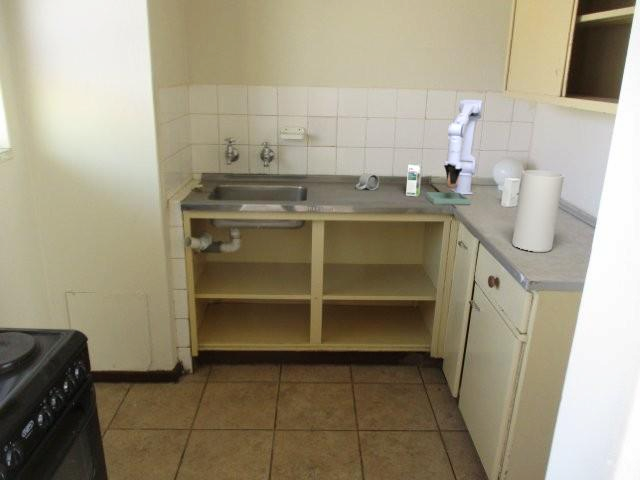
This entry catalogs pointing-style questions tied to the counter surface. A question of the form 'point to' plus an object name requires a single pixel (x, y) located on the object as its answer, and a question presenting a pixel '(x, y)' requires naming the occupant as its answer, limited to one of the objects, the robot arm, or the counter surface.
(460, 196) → the tray
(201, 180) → the counter surface
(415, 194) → the syrup box
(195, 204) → the counter surface
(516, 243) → the cylinder vase
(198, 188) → the counter surface
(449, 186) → the salt shaker
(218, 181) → the counter surface
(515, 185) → the skincare box
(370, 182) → the ceramic mug
